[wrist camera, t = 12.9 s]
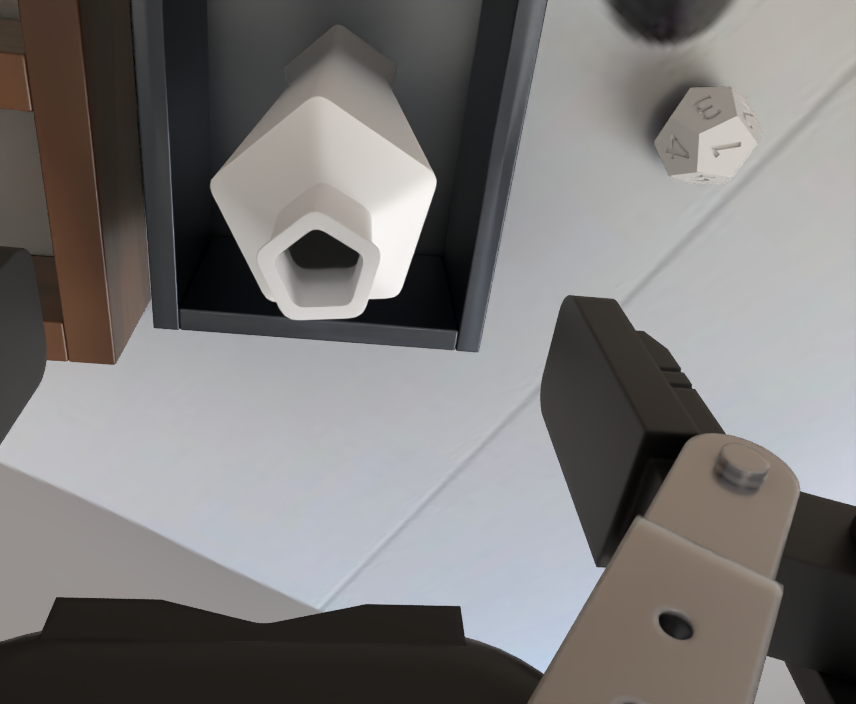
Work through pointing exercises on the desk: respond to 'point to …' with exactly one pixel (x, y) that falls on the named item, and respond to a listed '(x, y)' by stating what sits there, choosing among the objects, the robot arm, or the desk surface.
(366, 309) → the dark grey open box
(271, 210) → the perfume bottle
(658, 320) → the desk surface
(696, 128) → the game die
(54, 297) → the rack
